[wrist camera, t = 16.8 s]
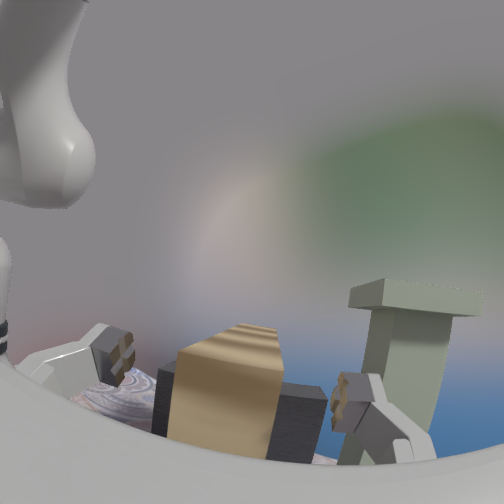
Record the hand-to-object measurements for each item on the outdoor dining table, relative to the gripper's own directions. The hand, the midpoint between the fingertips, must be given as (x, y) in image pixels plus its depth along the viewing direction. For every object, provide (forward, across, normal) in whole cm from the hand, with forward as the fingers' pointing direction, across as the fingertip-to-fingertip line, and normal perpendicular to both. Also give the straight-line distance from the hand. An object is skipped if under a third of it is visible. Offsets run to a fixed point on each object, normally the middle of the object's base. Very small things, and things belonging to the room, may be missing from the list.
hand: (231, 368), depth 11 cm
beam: (+8, 0, +9) cm, 12 cm away
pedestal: (+2, -14, +25) cm, 29 cm away
